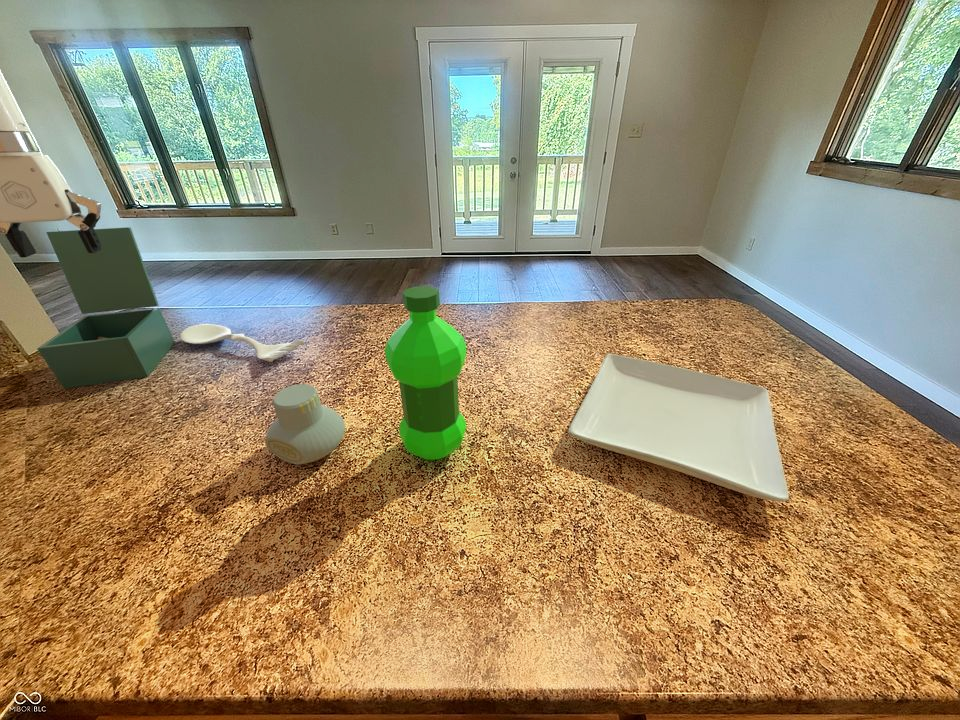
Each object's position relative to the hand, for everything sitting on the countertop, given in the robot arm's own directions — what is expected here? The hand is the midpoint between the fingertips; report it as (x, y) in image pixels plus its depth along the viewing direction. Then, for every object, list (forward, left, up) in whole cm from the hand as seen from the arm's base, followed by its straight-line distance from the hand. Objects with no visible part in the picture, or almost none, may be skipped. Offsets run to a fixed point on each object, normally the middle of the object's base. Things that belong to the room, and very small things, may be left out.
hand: (62, 253), depth 69 cm
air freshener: (+39, -40, -24) cm, 61 cm away
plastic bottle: (+57, -46, -24) cm, 77 cm away
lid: (0, +9, -6) cm, 11 cm away
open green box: (0, 0, -23) cm, 23 cm away
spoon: (+22, 0, -24) cm, 32 cm away
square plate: (+95, -53, -24) cm, 111 cm away
